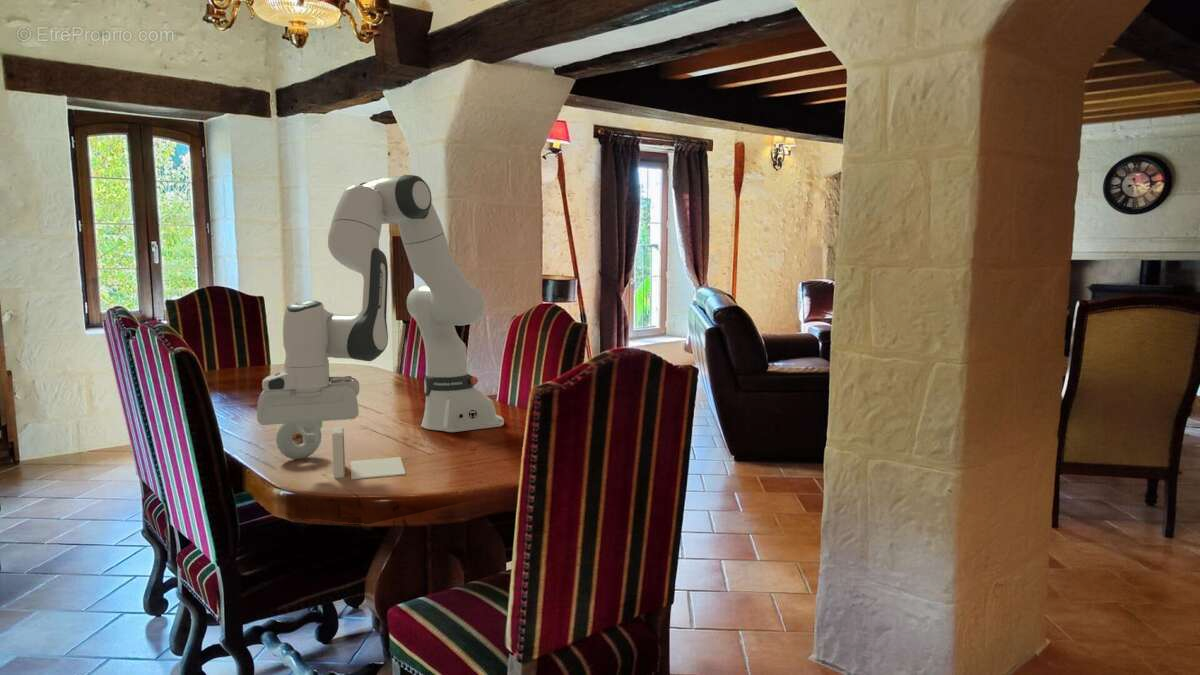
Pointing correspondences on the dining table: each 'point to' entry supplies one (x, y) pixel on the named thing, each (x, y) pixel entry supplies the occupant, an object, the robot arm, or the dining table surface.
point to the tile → (338, 452)
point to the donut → (292, 449)
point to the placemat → (377, 468)
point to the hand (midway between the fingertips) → (310, 442)
